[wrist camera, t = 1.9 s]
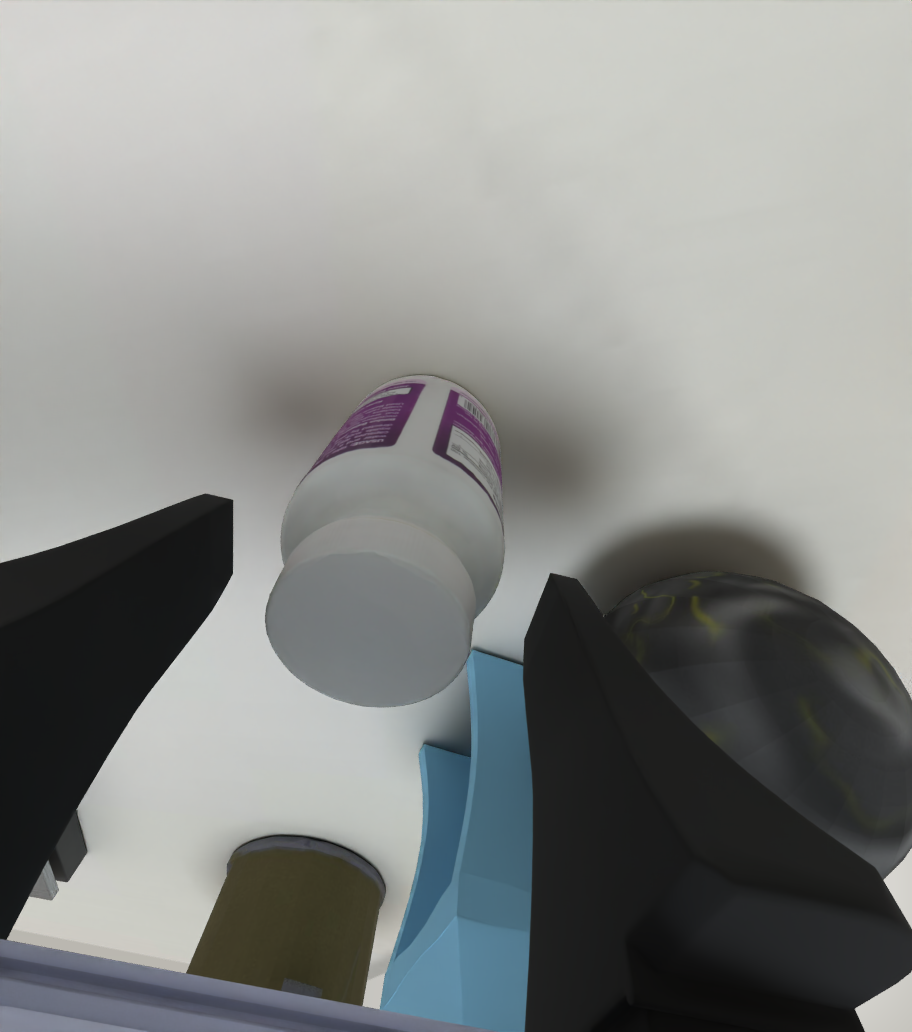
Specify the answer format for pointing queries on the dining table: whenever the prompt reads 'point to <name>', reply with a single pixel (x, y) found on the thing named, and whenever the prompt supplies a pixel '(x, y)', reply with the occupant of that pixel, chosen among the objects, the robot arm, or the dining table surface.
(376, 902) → the canister
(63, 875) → the base
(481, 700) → the blue flared beam
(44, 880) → the pan
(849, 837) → the decorative stone
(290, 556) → the pill bottle
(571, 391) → the dining table surface
